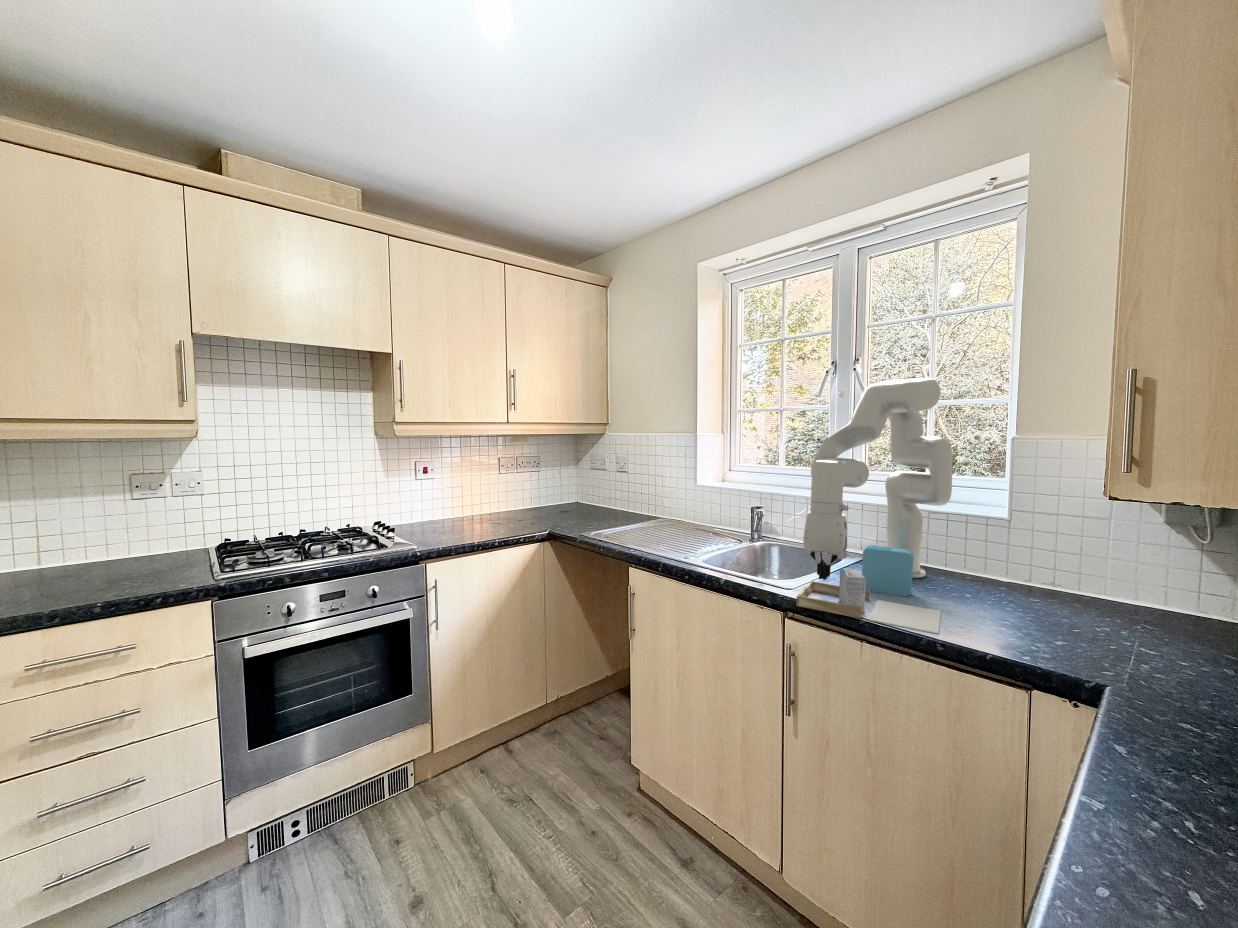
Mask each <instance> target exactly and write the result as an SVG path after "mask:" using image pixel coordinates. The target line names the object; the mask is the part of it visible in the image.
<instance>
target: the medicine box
mask: <svg viewBox="0 0 1238 928" xmlns="http://www.w3.org/2000/svg"><path fill="white" fill-rule="evenodd" d="M839 586H840V587H839V595H838V599H839V600H838V601H839V603H841V604H846V605H851V606H857V607H862V608H861V613H864V612H865V609H866V608H865V607H866V605H865V604H866V603H865V602H866V600H865V577H864V576H863V575H862V572H860V571H859V569H854V568H840V569H839Z"/></svg>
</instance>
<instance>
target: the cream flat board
mask: <svg viewBox="0 0 1238 928" xmlns="http://www.w3.org/2000/svg"><path fill="white" fill-rule="evenodd" d="M867 620H868V622H869V621H870V622H874V623H880V624H884V625H890V626H894V627H900V628H905V629H909V630H915V631H920V632H924V633H925V632H926V633H929V634H930V633H931V634H936V635H939V631H940V620H941V610H937V609H932V608H926V607H925V608H924V607H920V606H915V605H908V604H903V603H897V602H893V601H892V602H891V601H886V600H882V599H881V600H880V599H877V600H876V602H875V604H874V606H873V608H872V611H871V612H870V615H869V617H868V619H867Z"/></svg>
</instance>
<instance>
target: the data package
mask: <svg viewBox="0 0 1238 928" xmlns="http://www.w3.org/2000/svg"><path fill="white" fill-rule="evenodd" d="M913 558H914V556H913V553H912V552H911V551H910V550H906V549H898V548H890V547H886V546H881V545H872V544H871V545H867V546H866V547H865V548H864V549H863V551H862V561H861V562H862V565H861V574H862V575H863V576H864V577H865V590H868V591H870V592H873V593H879V594H886V595H891V596H897V597H909V596H910V595H911V594H912V593H911V592H912V589H913V578H912V576H913Z"/></svg>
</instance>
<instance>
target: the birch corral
mask: <svg viewBox="0 0 1238 928" xmlns="http://www.w3.org/2000/svg"><path fill="white" fill-rule="evenodd" d="M839 587H840V585H838V584H833V583H825V582H819V581H814V580H810V581H809V583H808V584H806V586H805V587H804V588H803V589H801V591H800V592H799V593H798V594H797V596H796V602H795V603H796V605H795V606H796V607H801V608H805V609H811V610H816V611H821V612H827V613H832V614H837V615H842V616H847V617H852V618H858V619H862V612H861V608H862V607H857V606H851V605H846V604H842V603H841V602H834V601H831V600H830V601H829V600H824V599H819V598H818V599H817V598H813V597H808V596H809V595H811V593H812V592H818V593H824V594H829V595H834V596H839ZM870 600H871V591H868V590H865V601H868V602H870Z"/></svg>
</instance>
